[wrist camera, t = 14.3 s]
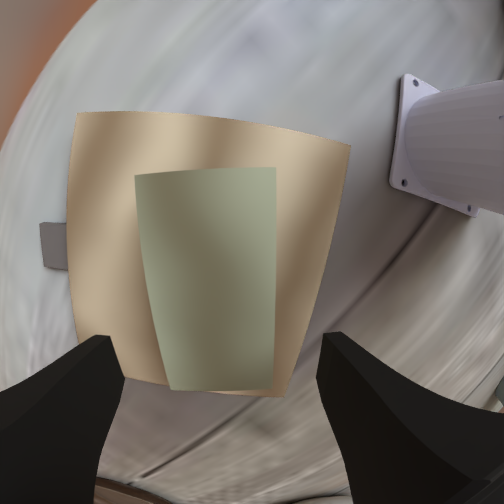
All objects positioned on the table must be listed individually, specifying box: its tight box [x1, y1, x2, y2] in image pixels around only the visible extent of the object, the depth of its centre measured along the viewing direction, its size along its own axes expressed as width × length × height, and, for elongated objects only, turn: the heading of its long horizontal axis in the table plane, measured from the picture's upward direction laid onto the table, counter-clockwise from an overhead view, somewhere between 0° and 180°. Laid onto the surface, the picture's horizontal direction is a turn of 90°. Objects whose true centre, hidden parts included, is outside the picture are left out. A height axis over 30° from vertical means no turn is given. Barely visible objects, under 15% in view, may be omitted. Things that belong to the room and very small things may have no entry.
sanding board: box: [67, 111, 351, 397], centre depth 15 cm, size 15×17×2 cm
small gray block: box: [40, 222, 68, 270], centre depth 15 cm, size 3×3×1 cm
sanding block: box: [134, 167, 276, 391], centre depth 12 cm, size 4×9×5 cm, turn 1°
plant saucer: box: [94, 477, 172, 504], centre depth 27 cm, size 21×21×3 cm
